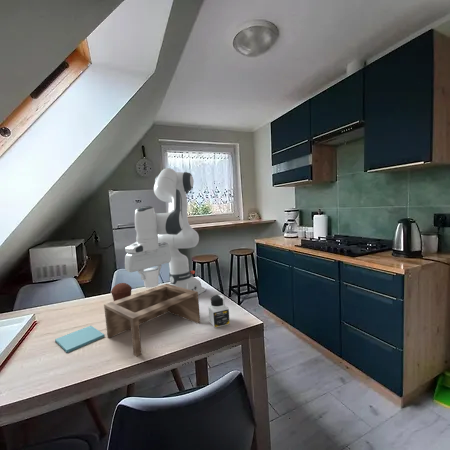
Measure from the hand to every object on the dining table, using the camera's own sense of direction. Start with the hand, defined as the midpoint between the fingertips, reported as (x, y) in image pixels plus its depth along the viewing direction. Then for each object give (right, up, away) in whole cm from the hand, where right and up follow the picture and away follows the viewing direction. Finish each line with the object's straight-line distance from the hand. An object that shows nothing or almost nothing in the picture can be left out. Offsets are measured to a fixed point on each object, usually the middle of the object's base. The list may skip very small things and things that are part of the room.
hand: (150, 277), depth 107 cm
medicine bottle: (+29, -21, +4) cm, 36 cm away
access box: (+2, -23, +2) cm, 23 cm away
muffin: (-28, -22, +39) cm, 53 cm away
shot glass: (0, -4, 0) cm, 4 cm away
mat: (-29, -25, -2) cm, 38 cm away
